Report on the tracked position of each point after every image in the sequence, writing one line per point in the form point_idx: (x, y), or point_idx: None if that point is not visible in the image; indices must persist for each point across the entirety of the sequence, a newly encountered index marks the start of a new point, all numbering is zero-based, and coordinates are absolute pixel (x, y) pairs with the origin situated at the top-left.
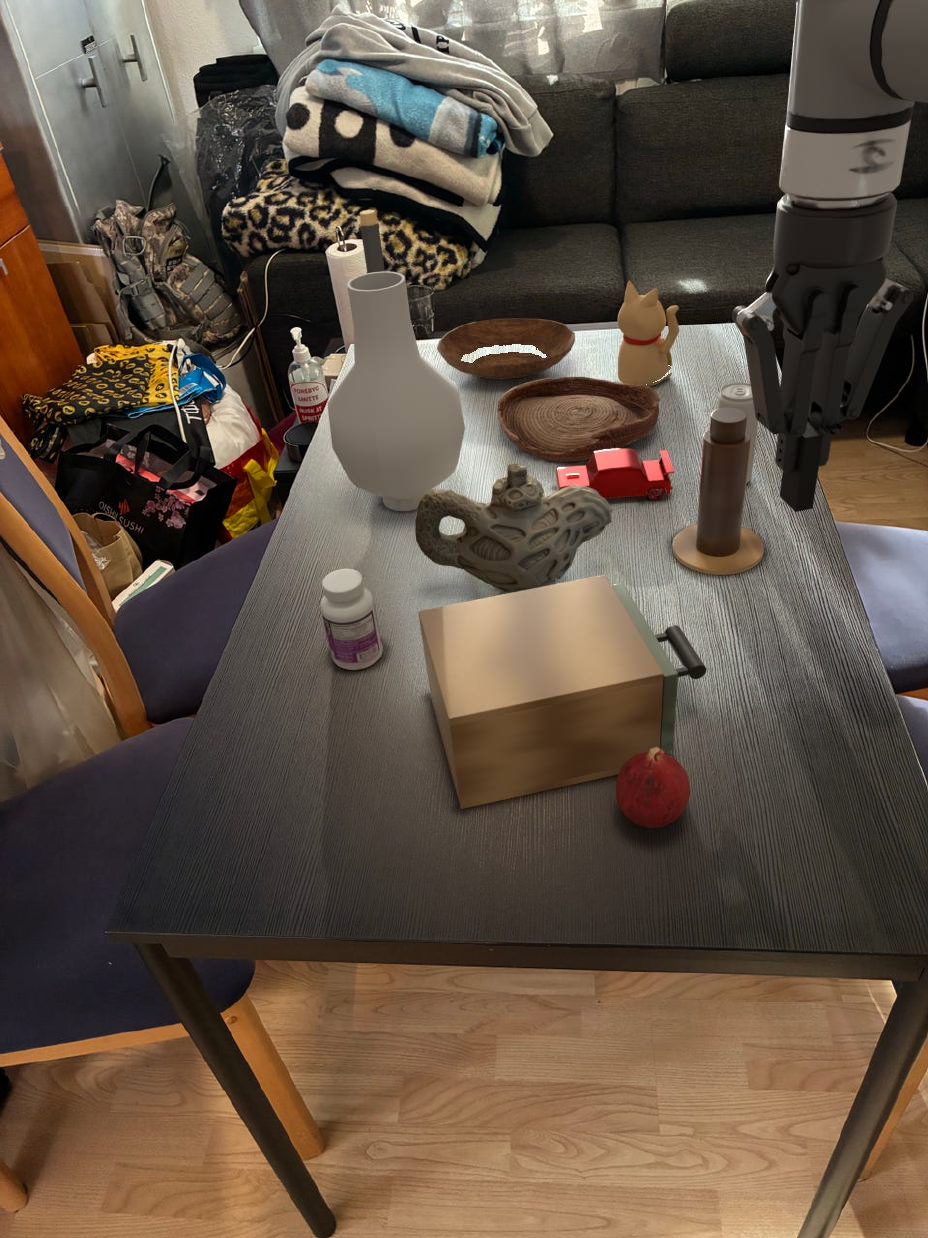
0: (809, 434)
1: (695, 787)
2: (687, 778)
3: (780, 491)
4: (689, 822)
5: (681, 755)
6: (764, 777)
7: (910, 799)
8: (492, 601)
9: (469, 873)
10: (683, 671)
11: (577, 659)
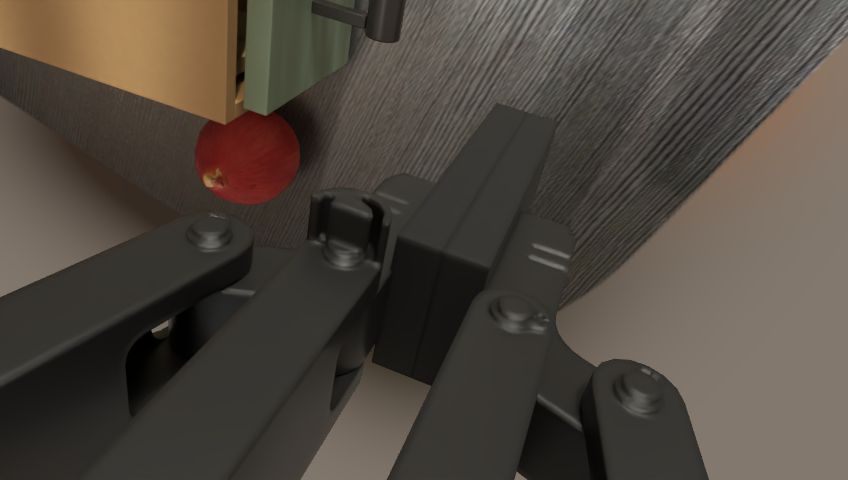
0: (407, 354)
1: (354, 121)
2: (277, 186)
3: (492, 110)
4: (320, 160)
5: (367, 62)
6: (444, 160)
7: (578, 288)
8: None
9: (77, 77)
10: (355, 25)
11: (104, 4)
